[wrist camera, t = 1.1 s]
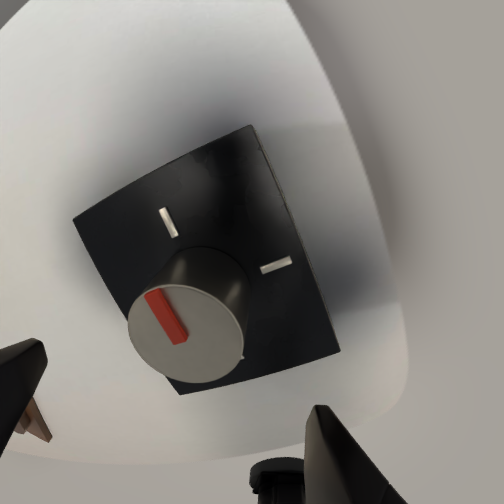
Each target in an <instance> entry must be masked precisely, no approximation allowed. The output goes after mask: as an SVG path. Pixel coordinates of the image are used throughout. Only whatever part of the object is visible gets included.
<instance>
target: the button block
mask: <svg viewBox="0 0 504 504" xmlns="http://www.w3.org/2000/svg"><path fill="white" fill-rule="evenodd" d="M14 431H15V432H17V433H20V434H24V433H25V432H26V431H28V432H29V433H31V434H33V435H35V436H37V437H38V438H40V439H42V440H44V441H46V442H48V443H49V442H50V440H51V438H52V436H51V434H50V432H49V430H48V428H47V426H46V424H45V422H44V420H43V418H42V416H41V414H40V412H39V410H38V408H37V406H36V404H35V402H34V399H33V397H32V399H31V400H30V402H29V404H28V406H27V408H26V409H25V411H24V413H23V415H22V417H21V418H20V420H19V422H18V424H17V426H16V428H15V430H14Z"/></svg>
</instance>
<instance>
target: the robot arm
mask: <svg viewBox="0 0 504 504" xmlns="http://www.w3.org/2000/svg"><path fill="white" fill-rule="evenodd" d="M47 363H48V359H47V355H46V352H45V348H44V345H43V343H42V342H41V341H40V340H37V339H35V338H30V339H28V340H25V341H22V342H19V343H17V344H14V345H11V346H8V347H6V348H3V349H0V457H1V455H2V453H3V451H4V449H5V447H6V445H7V443H8V441H9V439H10V437H11V435H12V433H13V431H14V430H15V428H16V426H17V424H18V422H19V420H20V418H21V417H22V415H23V413H24V411H25V409H26V408H27V406H28V404H29V402H30V400H31V399H32V397H33V395H34V392H35V390H36V388H37V386H38V384H39V381H40V379H41V377H42V375H43V373H44V371H45V369H46V367H47ZM252 493H253V494H258V504H408V503H406V501H405V500H404V499H403V498H402V497H401V496H400V495H399V494H398V493H397V491H396V490H395V489H394V488H393V487H392V485H391V484H389V482H388V480H387V479H386V478H385V477H384V476H383V474H382V473H381V472H380V471H379V470H378V468H377V467H376V466H375V464H374V463H373V462H372V461H371V460H370V458H369V457H368V456H367V454H366V453H365V452H364V451H363V450H362V448H361V447H360V446H359V445H358V443H357V442H356V441H355V439H354V438H353V437H352V436H351V435H350V433H349V432H348V430H347V429H346V428H345V427H344V425H343V424H342V423H341V421H340V420H339V419H338V418H337V416H336V415H335V414H334V412H333V411H332V410H331V409H330V407H329V406H327V405H314V407H313V408H312V411H311V413H310V415H309V417H308V420H307V422H306V432H305V455H304V473H282V472H268V471H262V472H260V474H259V476H258V479H257V481H256V483H255V486H254V488H253V490H252Z"/></svg>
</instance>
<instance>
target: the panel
mask: <svg viewBox="0 0 504 504" xmlns="http://www.w3.org/2000/svg"><path fill="white" fill-rule="evenodd" d="M73 222H74V224H75V227H76V229H77V231H78V233H79V235H80V237H81V239H82V241H83V243H84V245H85V247H86V249H87V251H88V253H89V255H90V257H91V259H92V261H93V262H94V264H95V266H96V268H97V270H98V272H99V274H100V275H101V277H102V279H103V281H104V283H105V284H106V286H107V288H108V290H109V291H110V293H111V295H112V296H113V298H114V300H115V302H116V303H117V305H118V307H119V308H120V310H121V311H122V313H123V315H124V316H125V318H126V319H127V321H128V316H129V312H130V309H131V307H132V305H133V303H134V302H135V300H136V299H137V298H138V297H139V295H140V294H141V293H142V292H143V290H144V289H145V288H146V287H147V286H148V284H149V283H150V282H151V281H152V280H153V278H154V277H155V276H156V275H157V274H158V272H159V271H160V270H161V269H162V268H163V266H164V265H165V264H166V263H167V262H168V261H169V260H170V259H171V258H172V257H173V256H174V255H175V254H177V253H179V252H181V251H183V250H186V249H189V248H194V247H206V248H212V249H215V250H218V251H221V252H223V253H225V254H227V255H228V256H230V257H231V258H232V259H234V260H235V261H236V262H237V263H238V264H239V265H240V266H241V268H242V269H243V270H244V272H245V274H246V276H247V278H248V280H249V284H250V289H251V298H250V306H249V313H248V320H247V328H246V335H245V342H244V349H243V353H242V356H241V359H240V361H239V362H238V364H237V365H236V366H235V368H234V369H233V370H232V371H231V372H229V373H228V374H227V375H225V376H223V377H222V378H219V379H217V380H214V381H210V382H205V383H189V382H183V381H179V380H175V379H172V378H170V377H167V376H165V377H166V378H167V379H168V381H169V382H170V383H171V385H172V386H173V387H174V389H175V390H176V391H177V393H178V394H179V395H184V394H189V393H194V392H199V391H204V390H209V389H213V388H218V387H222V386H226V385H230V384H235V383H239V382H243V381H247V380H250V379H254V378H258V377H262V376H265V375H269V374H273V373H276V372H279V371H283V370H286V369H290V368H293V367H296V366H299V365H303V364H306V363H309V362H312V361H315V360H318V359H321V358H324V357H327V356H330V355H333V354H335V353H338V352H340V351H341V350H340V347H339V343H338V340H337V337H336V333H335V330H334V327H333V324H332V321H331V318H330V315H329V312H328V309H327V307H326V304H325V301H324V298H323V295H322V293H321V290H320V287H319V284H318V282H317V279H316V276H315V274H314V271H313V268H312V266H311V263H310V260H309V258H308V255H307V253H306V250H305V247H304V245H303V242H302V240H301V237H300V235H299V232H298V230H297V227H296V225H295V222H294V219H293V217H292V215H291V212H290V210H289V207H288V205H287V202H286V200H285V197H284V195H283V193H282V190H281V188H280V185H279V183H278V181H277V178H276V176H275V173H274V171H273V169H272V166H271V164H270V162H269V159H268V157H267V155H266V153H265V150H264V148H263V146H262V143H261V141H260V139H259V137H258V134H257V132H256V130H255V129H254V127H253V126H252V125H248V126H246V127H243V128H241V129H239V130H236V131H234V132H232V133H229V134H227V135H225V136H223V137H220V138H218V139H216V140H214V141H212V142H210V143H207V144H205V145H203V146H201V147H199V148H197V149H195V150H193V151H191V152H189V153H187V154H185V155H183V156H181V157H179V158H177V159H175V160H173V161H171V162H169V163H167V164H165V165H163V166H161V167H159V168H158V169H156V170H154V171H152V172H150V173H148V174H146V175H145V176H143V177H141V178H139V179H137V180H136V181H134V182H132V183H130V184H129V185H127V186H125V187H123V188H122V189H120V190H118V191H117V192H115V193H113V194H112V195H110V196H108V197H107V198H105V199H103V200H102V201H100V202H98V203H97V204H95V205H94V206H92V207H90V208H89V209H87V210H86V211H84V212H83V213H81V214H80V215H78V216H76V217H75V218H73Z"/></svg>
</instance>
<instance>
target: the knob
mask: <svg viewBox="0 0 504 504" xmlns="http://www.w3.org/2000/svg"><path fill="white" fill-rule="evenodd" d="M250 298H251V289H250V284H249V280H248V278H247V276H246V274H245V272H244V270H243V269H242V268H241V266H240V265H239V264H238V263H237V262H236V261H235V260H234V259H232V258H231V257H230V256H228V255H227V254H225V253H223V252H221V251H218V250H215V249H212V248H206V247H194V248H189V249H186V250H183V251H181V252H179V253H177V254H175V255H174V256H173V257H172V258H171V259H170V260H169V261H168V262H167V263H166V264H165V265H164V266H163V268H162V269H161V270H160V271H159V272H158V274H157V275H156V276H155V277H154V278H153V280H152V281H151V282H150V283H149V284H148V286H147V287H146V288H145V289H144V290H143V292H142V293H141V294H140V295H139V297H138V298H137V299H136V300H135V302H134V303H133V305H132V307H131V309H130V312H129V316H128V331H129V336H130V339H131V342H132V344H133V346H134V348H135V349H136V351H137V352H138V354H139V355H140V356H141V358H142V359H143V360H144V361H145V362H146V363H147V364H148V365H150V366H151V367H152V368H153V369H155V370H156V371H158V372H160V373H161V374H163V375H165V376H167V377H170V378H172V379H175V380H179V381H183V382H189V383H205V382H210V381H214V380H217V379H219V378H222V377H223V376H225V375H227V374H228V373H229V372H231V371H232V370H233V369H234V368H235V366H236V365H237V364H238V362H239V361H240V359H241V356H242V353H243V349H244V342H245V335H246V328H247V320H248V313H249V306H250Z"/></svg>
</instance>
